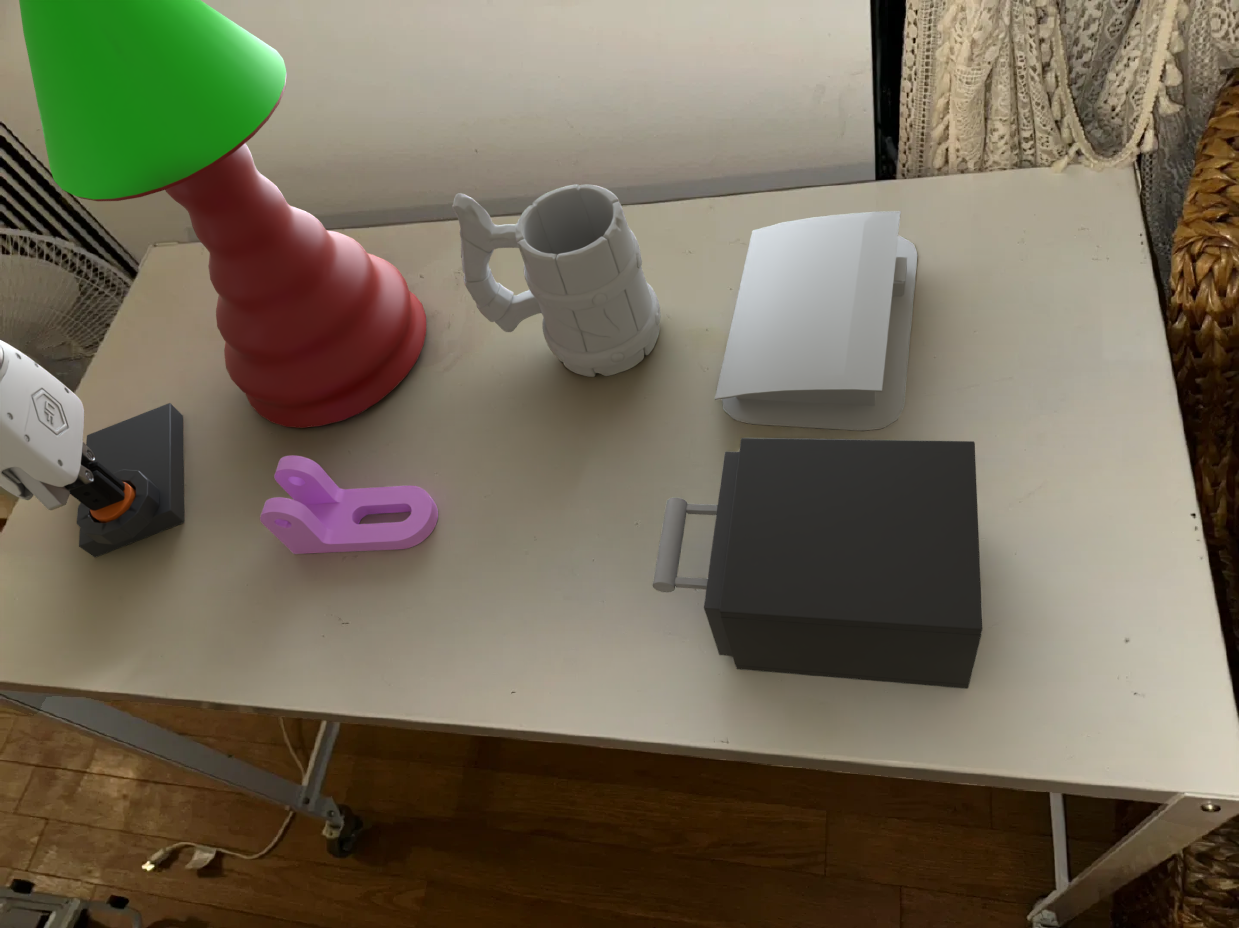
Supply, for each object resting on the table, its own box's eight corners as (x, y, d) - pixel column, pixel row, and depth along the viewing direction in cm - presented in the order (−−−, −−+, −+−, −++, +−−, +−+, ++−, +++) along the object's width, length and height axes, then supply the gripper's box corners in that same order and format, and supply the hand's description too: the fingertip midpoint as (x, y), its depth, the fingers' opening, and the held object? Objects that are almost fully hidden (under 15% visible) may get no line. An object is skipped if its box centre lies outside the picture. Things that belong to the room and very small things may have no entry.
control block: (184, 535, 84) (158, 512, 81) (93, 570, 84) (63, 549, 81) (183, 415, 94) (159, 391, 90) (101, 447, 94) (74, 424, 90)
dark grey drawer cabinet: (736, 669, 66) (719, 612, 58) (754, 507, 73) (740, 437, 65) (968, 689, 61) (982, 630, 54) (962, 514, 69) (974, 440, 61)
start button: (142, 518, 83) (130, 508, 82) (101, 534, 83) (88, 525, 82) (143, 485, 86) (131, 475, 84) (103, 501, 86) (90, 491, 84)
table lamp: (352, 259, 102) (71, -201, 66) (467, 326, 92) (209, -174, 56) (213, 378, 96) (-181, -58, 60) (319, 464, 86) (-78, 1, 50)
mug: (657, 380, 83) (615, 233, 69) (481, 384, 87) (408, 247, 73) (671, 290, 89) (635, 138, 75) (506, 299, 93) (442, 157, 79)
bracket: (294, 553, 80) (251, 513, 75) (310, 500, 84) (270, 456, 78) (431, 547, 78) (397, 504, 72) (443, 492, 81) (411, 446, 75)
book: (919, 234, 86) (921, 201, 83) (901, 433, 74) (903, 403, 71) (756, 234, 90) (752, 203, 87) (714, 421, 79) (708, 393, 75)
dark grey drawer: (659, 650, 67) (637, 603, 61) (682, 505, 73) (665, 449, 67) (932, 672, 62) (940, 624, 55) (931, 514, 68) (937, 455, 62)
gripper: (-17, 423, 64) (148, 549, 79) (5, 287, 73) (149, 424, 88) (-118, 462, 64) (66, 581, 79) (-83, 322, 73) (76, 452, 88)
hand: (109, 498), depth 83 cm, fingers closed
